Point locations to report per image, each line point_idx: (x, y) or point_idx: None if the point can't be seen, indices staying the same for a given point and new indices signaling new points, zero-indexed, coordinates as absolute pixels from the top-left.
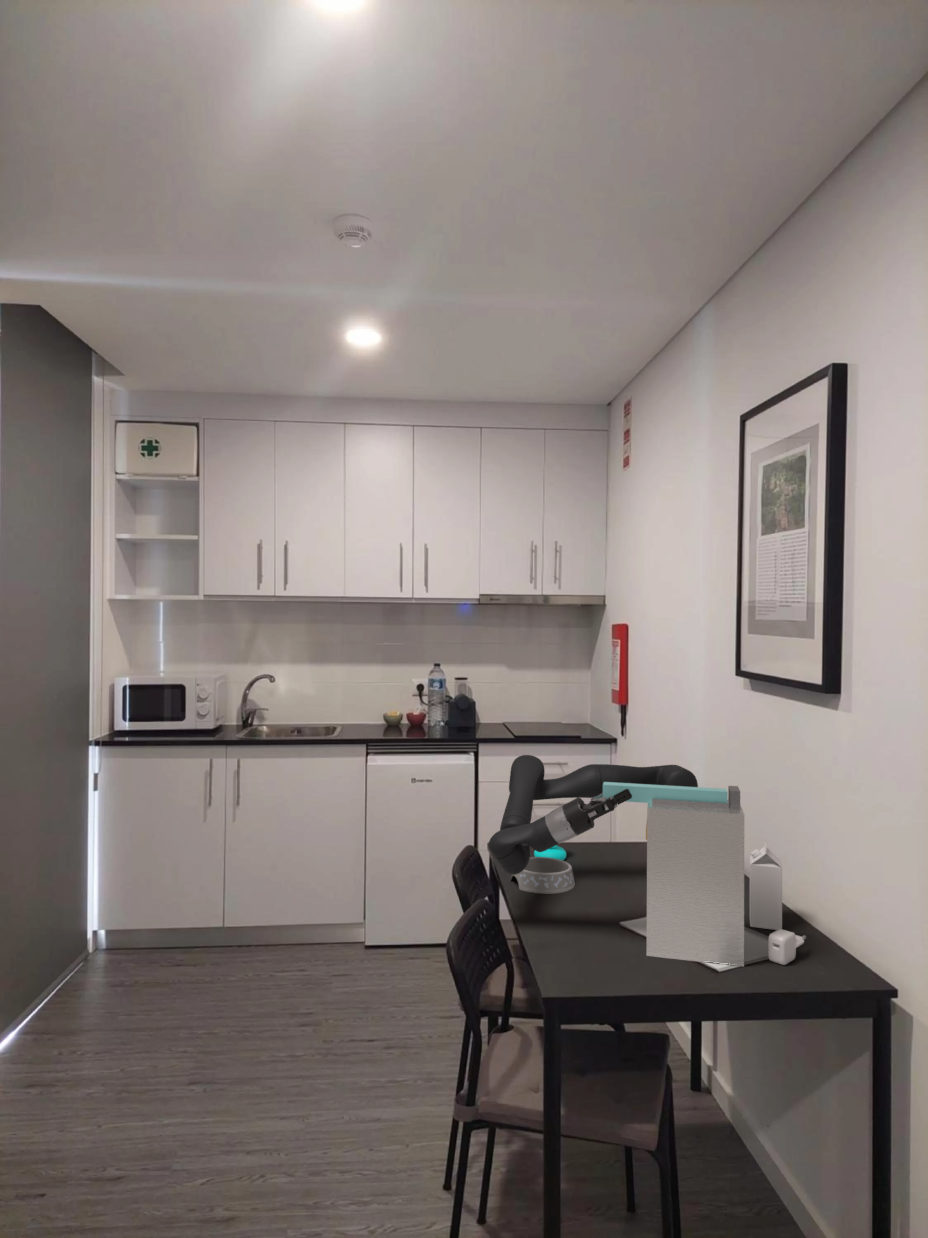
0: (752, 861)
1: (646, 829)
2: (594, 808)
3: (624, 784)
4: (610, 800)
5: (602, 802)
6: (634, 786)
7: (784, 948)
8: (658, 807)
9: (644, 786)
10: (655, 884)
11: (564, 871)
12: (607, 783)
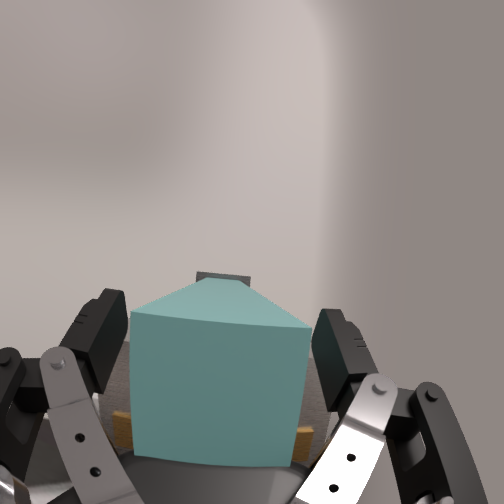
0: (97, 394)
1: (312, 431)
2: (472, 476)
3: (222, 297)
4: (401, 394)
5: (445, 420)
6: (262, 296)
7: None
8: (310, 347)
9: (242, 291)
10: None
11: None
12: (220, 313)
